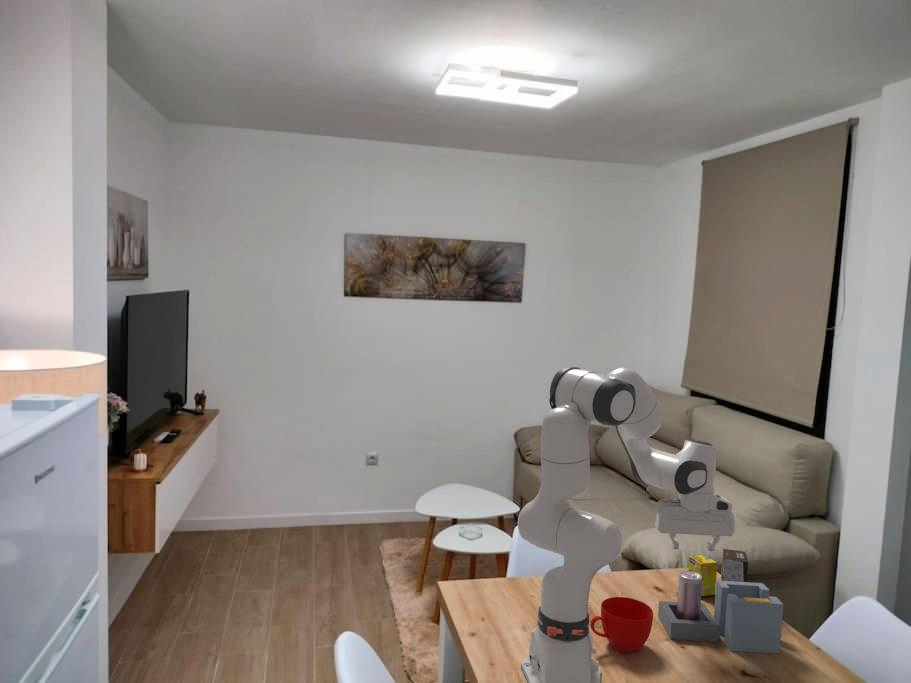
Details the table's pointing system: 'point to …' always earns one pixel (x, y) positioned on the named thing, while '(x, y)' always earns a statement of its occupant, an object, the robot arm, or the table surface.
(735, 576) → the coffee box
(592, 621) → the ceramic cup
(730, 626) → the socket
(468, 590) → the table surface
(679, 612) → the beverage can
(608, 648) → the table surface
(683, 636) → the tray
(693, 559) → the supplement box
